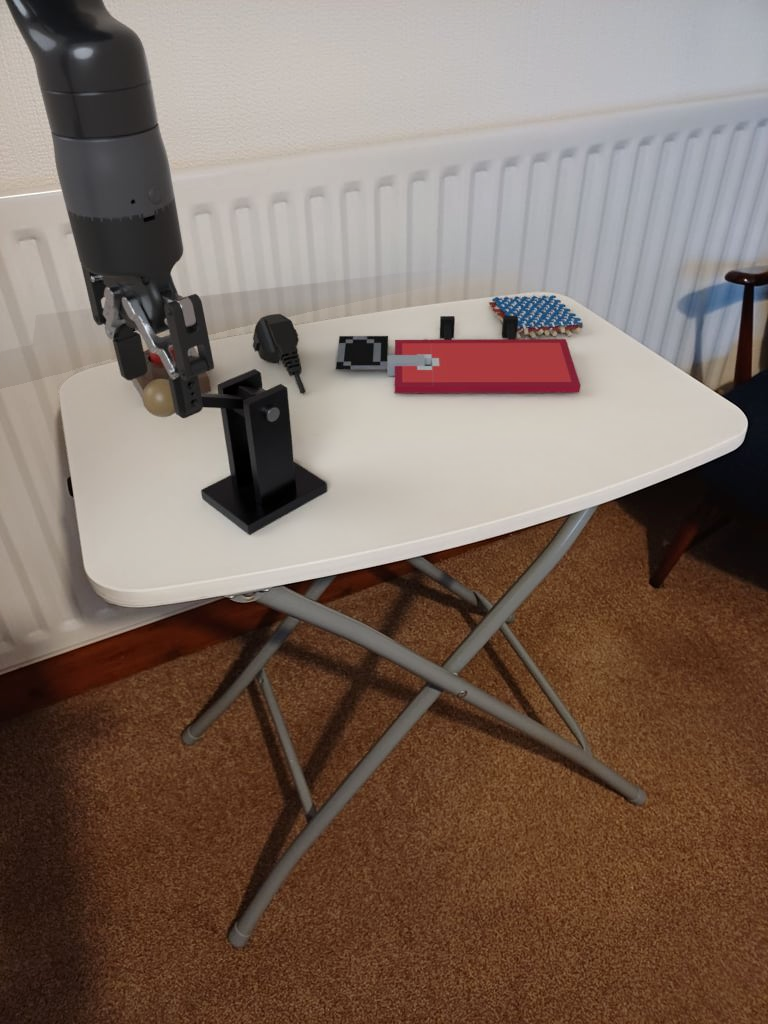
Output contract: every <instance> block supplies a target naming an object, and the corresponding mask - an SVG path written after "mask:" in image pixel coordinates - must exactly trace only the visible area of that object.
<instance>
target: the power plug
mask: <svg viewBox="0 0 768 1024" xmlns="http://www.w3.org/2000/svg"><path fill="white" fill-rule="evenodd" d="M252 340H253V343H252V347H253V351H254V353H255V352H257V354H258V356H259V358H260V359H261V360H263V361H265V362H267V363H270V364H280V362H281V363H282V365H283V367H284V368H285V370H286V371H287V373H288V375H289V377H294V379H295V383H296V385H297V388H298V390H299V393H300V394H305V393H306V392H307V391H306V389H305V386H304V383H303V380H302V378H301V376H300V375H301V373H302V366H301V361H300V357H299V356H300V355H299V351H298V345H299V340H300V339H299V334H298V332H297V329H295V326H294V323H293V321H292V320H291V319H290V318H288V317H286V316H285V315H283V314H281V313H273V314H268V315H264V316H262V317H260V319H259V320H258V321H257V322H256V324H255V327H254V331H253V336H252Z"/></svg>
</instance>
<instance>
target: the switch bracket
mask: <svg viewBox="0 0 768 1024" xmlns="http://www.w3.org/2000/svg"><path fill="white" fill-rule="evenodd" d="M238 386H247V387H261V388H263V380H262V373H261V371H260V370H258V369H256V368H254V369H252V370H248V371H247V372H244V373H242V374H238V375H236V376H234V377H232V378H230V379H227V380H225V381H222V382H220V383H217V384H216V388H217V394H229V395H236V394H237V390H238ZM263 389H264V388H263ZM265 390H266V391H263V392H261V393H259V394H256V395H254V396H252V397H250V398H247V399H245V400H243V407H244V415H245V417H243V416H242V415H240V414H239V413H237V412H235V411H234V410H233V409H229V408H220V414H221V420H222V426H223V434H224V440H225V447H226V453H227V459H228V467H229V472H230V475H228V476H226V477H223V478H222V479H220V480H217V481H216V482H213V483H212V484H210V485H208V486H206V487H204V488H202V489H201V490H200V493H201V498H202V500H203V501H204V502H206V504H208V505H210V506H211V507H212V508H213V509H215V510H216V511H217V512H219V513H220V514H221V515H222V516H224V517H225V518H226V519H227V520H228V521H230V522H232V523H233V524H234V525H236V526H237V527H238V528H239V529H241V531H244V533H245V534H247V535H248V536H250V535H253V534H254V533H256V532H257V531H259V530H262V529H263V528H264V527H266V526H268V525H270V524H272V523H274V522H276V521H277V520H279V519H281V518H282V517H284V516H286V515H288V514H290V513H292V512H293V511H295V510H297V509H299V508H301V507H302V506H304V505H306V504H307V503H309V502H311V501H313V500H315V499H316V498H318V497H320V496H322V495H323V494H326V493H327V492H328V483H327V481H325V480H323V479H322V478H321V477H319V476H317V475H316V474H314V473H313V472H311V471H310V470H308V469H306V468H304V467H303V466H302V465H301V464H299V463H297V462H296V461H295V460H294V448H293V439H292V438H293V437H292V426H291V413H290V405H289V403H290V402H289V393H288V392H289V391H288V387H287V386H286V385H284V384H282V383H279V384H277V385H274V386H273V387H270V388H267V389H265Z"/></svg>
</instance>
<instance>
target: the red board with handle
mask: <svg viewBox="0 0 768 1024" xmlns="http://www.w3.org/2000/svg"><path fill="white" fill-rule="evenodd" d="M439 317H440V318H439V339H394V354H389V335H339V337H338V345H337V354H336V364H335V370H337V371H338V370H387V377H390V376H391V377H394V393H395V394H507V393H509V394H511V393H512V394H516V393H517V394H518V393H519V394H521V393H522V394H526V393H527V394H528V393H529V394H530V393H532V394H533V393H536V394H537V393H538V394H539V393H543V394H544V393H546V394H547V393H550V394H552V393H553V394H554V393H556V394H557V393H558V394H559V393H563V394H564V393H568V394H569V393H580V392H581V383H580V380H579V379H580V378H579V376H578V373H577V371H576V370H577V369H576V367H575V364H574V363H575V362H574V360H573V357H572V355H571V351H570V348H569V344H568V342H567V339H566V338H519V339H517V338H516V334H517V325H518V317H517V316H503V322H502V326H501V339H500V338H498V339H497V338H495V339H493V338H492V339H487V338H486V339H485V338H484V339H483V338H482V339H479V338H478V339H476V338H475V339H473V338H472V339H455V326H456V325H455V324H456V323H455V322H456V321H455V320H456V317H455V315H440V316H439Z"/></svg>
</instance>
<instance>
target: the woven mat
mask: <svg viewBox="0 0 768 1024" xmlns="http://www.w3.org/2000/svg"><path fill="white" fill-rule="evenodd" d="M556 298H557V296H556V295H553V294H552V295H547V296H546V295H544V294H542V295H541V296H536V295H534V294H533V295H532V296H531V295H530V296H526V295H523V296H518V295H515V296H511V297H508V296H507V295H506V296H504V297H498V296H496V297H493V298H492V299H491V301H489V303H488V305H489V309H490V310H491V311H492V312H493V313H495V314H496V317H497V318H498V320H500V321H501V323H503V316H517V317H518V325H517V334H516V339H522V336H521V334H522V335H524V336H528V335H529V336H530V337H531V339H536V337H537V335H539V336H541V335H543V334H544V335H545V336H546V337H548V336H549V335H550V334H551V335H552V336H554V337H556V336H557V335H558V333H560V334H565V335H566V336H567V337H572V336H573V334H572V332H573V333H574V334H578V333H579V332H580V331H581V330H582V329H583V328H584V326H583V325H584V323H583V322H581V321H582V319H581V318H580V317H576V316H577V314H576V313H573V312H571V311H572V309H571V308H566V307H567V305H566V304H565V303H561V302H562V300H561V299H556ZM520 333H521V334H520Z"/></svg>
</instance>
